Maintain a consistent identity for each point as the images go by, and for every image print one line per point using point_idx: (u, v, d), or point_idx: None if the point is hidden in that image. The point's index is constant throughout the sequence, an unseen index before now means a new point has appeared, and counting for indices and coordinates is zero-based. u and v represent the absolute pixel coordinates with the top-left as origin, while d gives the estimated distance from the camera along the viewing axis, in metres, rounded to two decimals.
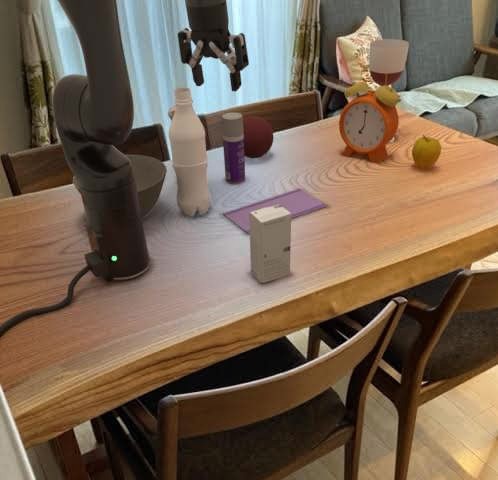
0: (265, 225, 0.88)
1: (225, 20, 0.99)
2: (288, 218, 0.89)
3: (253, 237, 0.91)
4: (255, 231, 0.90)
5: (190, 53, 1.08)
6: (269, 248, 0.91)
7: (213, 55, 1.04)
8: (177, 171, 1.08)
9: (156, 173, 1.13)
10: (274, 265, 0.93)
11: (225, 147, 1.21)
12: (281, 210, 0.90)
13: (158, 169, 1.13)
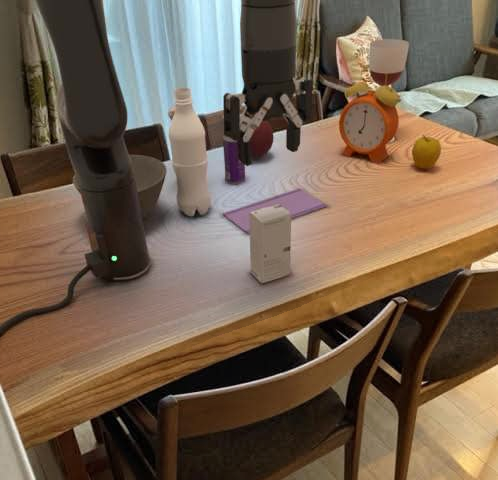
0: (265, 224, 0.88)
1: (246, 73, 0.73)
2: (288, 218, 0.89)
3: (253, 237, 0.91)
4: (255, 231, 0.90)
5: None
6: (269, 248, 0.91)
7: None
8: (177, 171, 1.08)
9: (156, 173, 1.13)
10: (274, 265, 0.93)
11: (225, 147, 1.21)
12: (281, 210, 0.90)
13: (158, 169, 1.13)
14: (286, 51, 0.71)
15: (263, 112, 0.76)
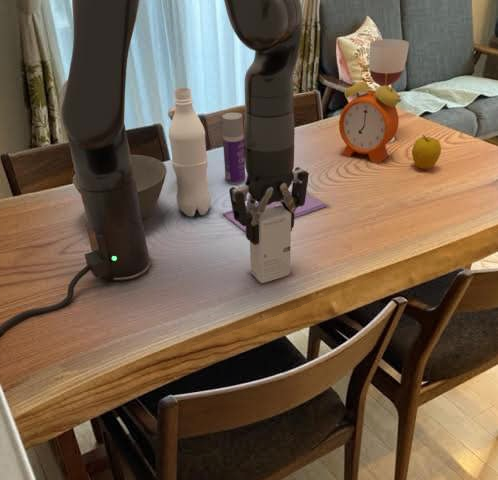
0: (265, 225, 0.88)
1: (249, 167, 0.82)
2: (288, 218, 0.89)
3: None
4: None
5: None
6: (269, 248, 0.91)
7: None
8: (177, 171, 1.08)
9: (156, 173, 1.13)
10: (274, 265, 0.93)
11: (225, 147, 1.21)
12: (281, 210, 0.90)
13: (158, 169, 1.13)
14: (285, 151, 0.79)
15: (266, 200, 0.85)
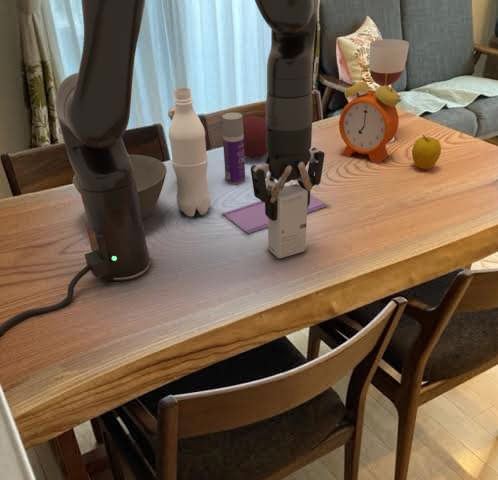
0: (283, 201, 0.93)
1: (269, 146, 0.88)
2: (305, 196, 0.95)
3: None
4: None
5: None
6: (287, 225, 0.96)
7: None
8: (177, 171, 1.08)
9: (156, 173, 1.13)
10: (291, 241, 0.99)
11: (225, 147, 1.21)
12: (298, 188, 0.95)
13: (158, 169, 1.13)
14: (304, 130, 0.85)
15: (285, 177, 0.91)
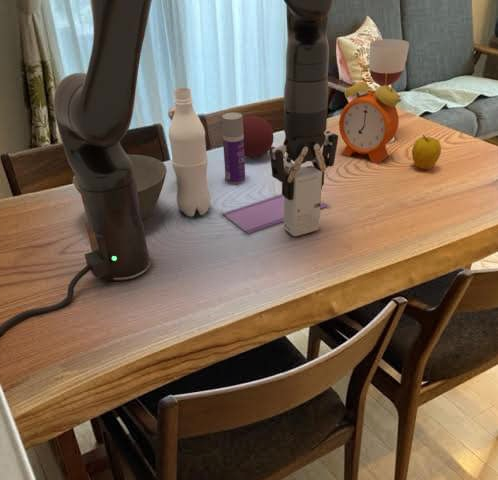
0: (299, 181, 0.99)
1: (287, 128, 0.93)
2: (319, 176, 1.01)
3: None
4: None
5: None
6: (302, 204, 1.02)
7: None
8: (177, 171, 1.08)
9: (156, 173, 1.13)
10: (306, 220, 1.04)
11: (225, 147, 1.21)
12: (313, 169, 1.01)
13: (158, 169, 1.13)
14: (320, 113, 0.91)
15: (301, 158, 0.96)
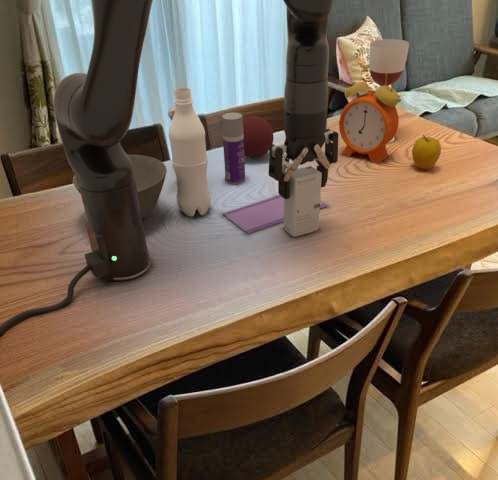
0: (299, 182, 0.99)
1: (288, 129, 0.94)
2: (319, 177, 1.01)
3: None
4: None
5: None
6: (302, 204, 1.02)
7: None
8: (177, 171, 1.08)
9: (156, 173, 1.13)
10: (305, 220, 1.05)
11: (225, 147, 1.21)
12: (312, 170, 1.01)
13: (158, 169, 1.13)
14: (320, 114, 0.91)
15: (300, 158, 0.97)
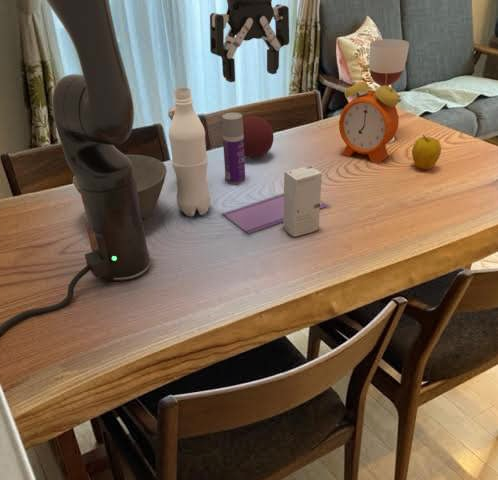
0: (299, 182, 0.99)
1: None
2: (319, 177, 1.01)
3: (287, 194, 1.03)
4: (289, 189, 1.02)
5: None
6: (302, 204, 1.02)
7: None
8: (177, 171, 1.08)
9: (156, 173, 1.13)
10: (305, 220, 1.05)
11: (225, 147, 1.21)
12: (312, 170, 1.01)
13: (158, 169, 1.13)
14: None
15: (244, 31, 0.88)
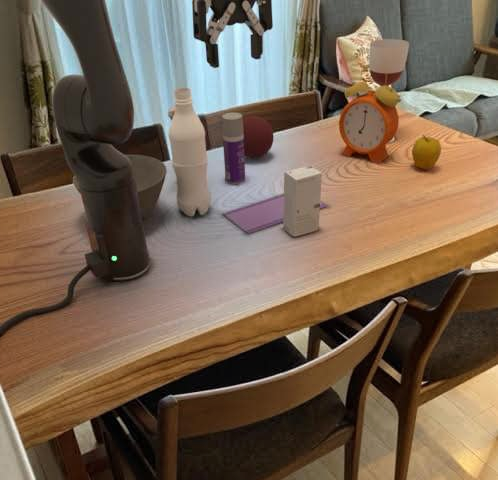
0: (299, 182, 0.99)
1: None
2: (319, 177, 1.01)
3: (287, 194, 1.03)
4: (289, 189, 1.02)
5: None
6: (302, 204, 1.02)
7: None
8: (177, 171, 1.08)
9: (156, 173, 1.13)
10: (305, 220, 1.05)
11: (225, 147, 1.21)
12: (312, 170, 1.01)
13: (158, 169, 1.13)
14: None
15: (227, 16, 0.88)
